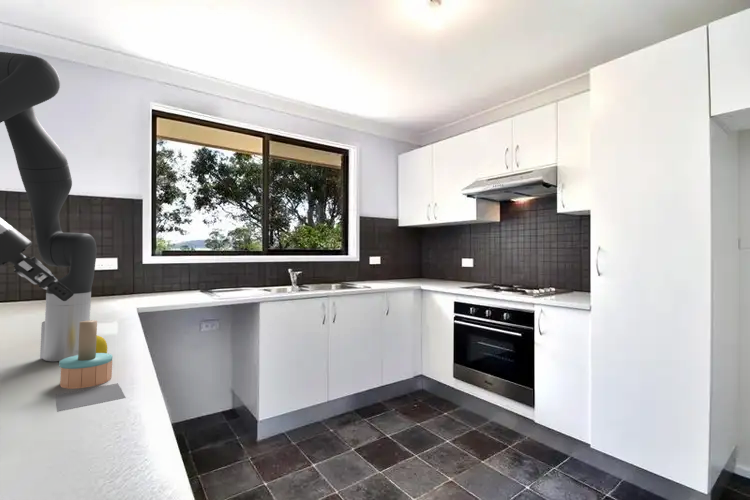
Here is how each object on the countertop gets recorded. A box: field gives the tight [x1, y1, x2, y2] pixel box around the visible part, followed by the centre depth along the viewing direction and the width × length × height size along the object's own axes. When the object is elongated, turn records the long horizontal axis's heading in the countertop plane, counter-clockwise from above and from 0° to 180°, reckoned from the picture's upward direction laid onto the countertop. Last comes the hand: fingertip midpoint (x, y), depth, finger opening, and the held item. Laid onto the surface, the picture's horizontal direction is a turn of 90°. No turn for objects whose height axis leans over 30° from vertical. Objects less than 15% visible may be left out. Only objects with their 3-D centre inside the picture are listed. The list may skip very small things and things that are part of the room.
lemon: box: [96, 335, 108, 353], centre depth 89 cm, size 6×6×8 cm
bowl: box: [59, 360, 113, 390], centre depth 78 cm, size 9×9×4 cm
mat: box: [55, 383, 126, 413], centre depth 70 cm, size 10×10×1 cm
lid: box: [58, 319, 113, 369], centre depth 78 cm, size 9×9×9 cm
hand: (67, 295), depth 76 cm, fingers open, 8 cm apart
